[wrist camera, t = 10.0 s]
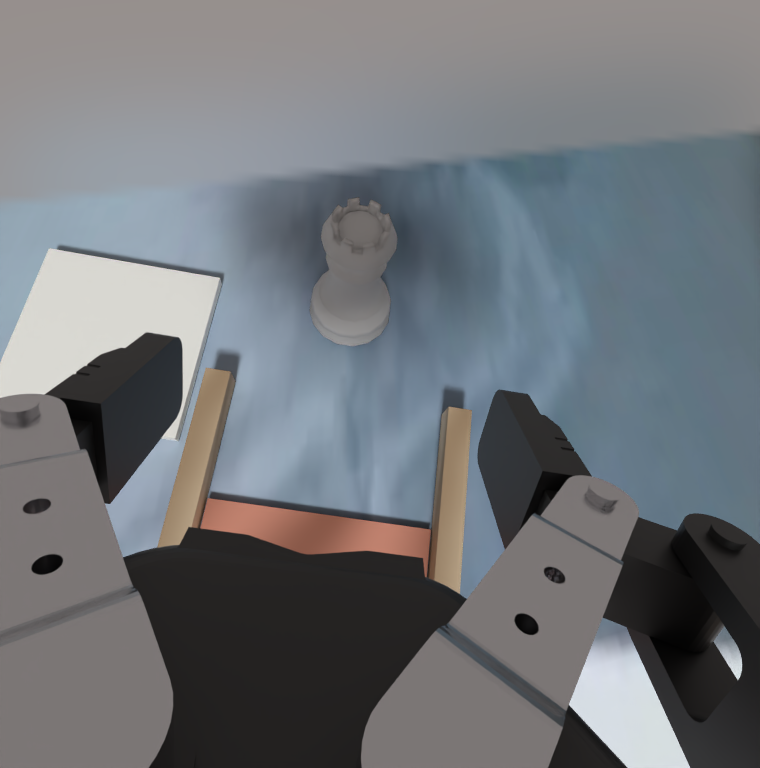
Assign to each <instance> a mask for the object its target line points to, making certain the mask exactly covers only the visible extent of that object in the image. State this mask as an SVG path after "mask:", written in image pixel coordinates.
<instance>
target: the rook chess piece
mask: <svg viewBox="0 0 760 768" xmlns="http://www.w3.org/2000/svg"><path fill="white" fill-rule="evenodd" d="M380 209H381V204H379V203H377V202H375V201H373V200H371V201H370V203H369V206H363V205H360V200H359V197H358V198H352V199H348V202H347V207H343V208H342V207H341V206H339V205H338V206H337V207H336V208H335V210H334V211H333V212H332V214H331V215H330V216H329V218H328V219H327V220H326V222H325V223H324V224H323V228H322V234H321V240H322V243H323V247H324V250H325V251H326V260H327V264H328V267H329V270H328V271H327V272H326V273H324V274H323V275H322V276H321V277H320V279H319V280H318V282H317V283H316V285H315V286H314V288H313V292H312V297H311V305H310V313H311V317H312V321H313V324H314V325H315V327H316V328H317V329H318V330H319V332H320V333H321V334H322V335H323V336H324V337H326V338H327V339H329V340H331V341H333V342H335V343H336V344H341V345H348V346H356V345H361V344H365V343H369V342H370V341H372V340H373V339H375V338H376V337H378V336H379V335H381V333H382V332H383V330H384V328H385V327H386V325H387V324H388V321H389V313H390V304H391V299H390V296H389V293H388V290H387V287H386V284H385V283H384V282H383V281H382V279H381V275H382V274H383V272H384V271H385V269H386V267H387V262H388V261H389V260H390V259H391V257H392V256H393V254H394V252H395V251H396V247H397V238H398V237H397V234H396V231H395V228H394V226H393V224H392V221H391V218H390V215H389V213H388V214H385V215H384V214H382V213H381V212H380Z"/></svg>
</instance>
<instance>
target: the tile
mask: <svg viewBox="0 0 760 768" xmlns="http://www.w3.org/2000/svg"><path fill="white" fill-rule="evenodd" d="M221 286H222V282H221V279H220V278H217V277H211V276H206V275H200V274H194V273H188V272H183V271H177V270H171V269H165V268H160V267H154V266H148V265H142V264H136V263H131V262H125V261H119V260H113V259H108V258H102V257H96V256H90V255H85V254H79V253H73V252H67V251H62V250H56V249H50V248H49V250H48V252H47V255H46V257H45V259H44V262H43V264H42V266H41V269H40V271H39V273H38V276H37V278H36V280H35V283H34V285H33V287H32V290H31V292H30V294H29V297H28V299H27V301H26V304H25V306H24V308H23V311H22V313H21V315H20V318H19V320H18V322H17V325H16V327H15V329H14V332H13V334H12V336H11V339H10V341H9V343H8V346H7V348H6V350H5V353H4V355H3V357H2V360H1V362H0V398H2V397H6V396H11V395H18V394H46V393H47V392H49V391H50V390H51V389H53V388H54V387H56V386H57V385H58V384H60V383H61V382H63V381H64V380H65V379H67V378H68V377H70V376H71V375H72V374H76V372H77V371H78V370H79V369H81V368H82V367H84V366H87V364H88V363H89V362H91V361H92V360H93V359H95V358H96V357H98V356H99V355H100V354H103V353H106V352H109V351H112V350H115V349H118V348H126V347H127V346H128V345H130V344H131V343H132V342H134V341H135V340H136V339H138V338H139V337H140V336H142V335H143V334H144V333H146V332H149V333H155V334H162V335H168V336H174V337H179V338H180V339H181V342H182V349H183V398H182V405H181V408H180V412H179V414H178V416H177V418H176V419H175V421H174V422H173V423H172V425H171V426H170V427H169V429H168V430H167V431H166V432H165V434H164V435H163V436H162V438H161V439H167V440H174V441H179V438H180V435H181V431H182V427H183V424H184V420H185V416H186V413H187V409H188V406H189V402H190V398H191V395H192V391H193V387H194V384H195V380H196V377H197V373H198V369H199V366H200V362H201V358H202V355H203V351H204V348H205V344H206V340H207V337H208V333H209V329H210V326H211V322H212V318H213V315H214V311H215V308H216V304H217V300H218V297H219V293H220V289H221Z"/></svg>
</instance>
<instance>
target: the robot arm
mask: <svg viewBox="0 0 760 768" xmlns="http://www.w3.org/2000/svg"><path fill="white" fill-rule="evenodd" d="M182 398H183V349H182V342H181V339H180V338H179V337H174V336H168V335H162V334H155V333H149V332H146V333H144V334H143V335H142V336H140V337H139V338H138V339H136V340H135V341H134V342H132V343H131V344H130V345H128V346H127V347H126V348H118V349H115V350H112V351H109V352H106V353H103V354H100V355H99V356H98V357H96V358H95V359H93V360H92V361H91V362H89V363H88V364H87V366H84V367H82V368H81V369H79V370H78V371H77V372H76V374H72V375H71V376H70V377H68V378H67V379H65V380H64V381H63V382H61V383H60V384H58V385H57V386H56V387H54V388H53V389H51V390H50V391H49V392H47V393H46V394H18V395H11V396H6V397H2V398H0V768H627V767H626V766H625V765H624V763H623V762H622V761H621V760H620V759H619V758H618V757H617V756H616V755H615V754H614V753H613V752H612V751H611V750H610V749H609V747H608V746H607V745H606V744H605V743H604V742H603V741H602V740H601V739H600V738H599V737H598V736H597V735H596V734H595V732H594V731H593V730H592V729H591V728H590V727H589V726H588V725H587V724H586V723H585V722H584V721H583V720H582V719H581V718H580V716H579V715H578V714H577V713H576V712H575V711H574V710H573V709H572V708H571V707H570V706H569V702H570V700H571V697H572V695H573V692H574V689H575V687H576V684H577V682H578V679H579V677H580V674H581V671H582V669H583V666H584V664H585V661H586V659H587V656H588V653H589V651H590V648H591V646H592V643H593V641H594V638H595V635H596V633H597V630H598V628H599V625H600V623H601V620H602V617H603V618H606V619H608V620H611V621H613V622H616V623H618V624H621V625H623V626H626V627H627V629H628V632H629V634H630V636H631V639H632V641H633V643H634V645H635V647H636V650H637V652H638V654H639V656H640V658H641V661H642V663H643V665H644V667H645V669H646V672H647V674H648V676H649V678H650V680H651V682H652V685H653V687H654V689H655V691H656V693H657V696H658V698H659V700H660V702H661V704H662V707H663V709H664V711H665V713H666V715H667V717H668V720H669V722H670V724H671V726H672V728H673V731H674V733H675V735H676V737H677V739H678V742H679V744H680V746H681V748H682V750H683V753H684V755H685V757H686V759H687V761H688V763H689V766H690V768H760V544H759V543H758V542H757V541H756V540H754V539H753V538H752V537H751V536H749V535H748V534H747V533H745V532H744V531H742V530H741V529H739V528H737V527H736V526H734V525H732V524H730V523H728V522H726V521H724V520H721V519H719V518H716V517H713V516H709V515H705V514H689V515H687V516H686V517H685V518H684V520H683V522H682V523H681V525H680V527H679V528H678V530H674V529H671V528H668V527H665V526H662V525H659V524H656V523H653V522H650V521H648V520H645V519H642V518H640V517H638V516H639V509H638V507H637V505H636V503H635V502H634V501H633V499H632V498H631V497H630V496H629V495H627V494H626V493H625V492H624V491H622V490H621V489H619V488H618V487H616V486H614V485H613V484H611V483H609V482H606V481H604V480H601V479H598V478H595V477H592V476H591V474H590V473H589V471H588V470H587V468H586V467H585V465H584V464H583V462H582V461H581V459H580V457H579V456H578V454H577V453H576V452H574V448H573V447H572V445H571V444H570V442H568V441H567V438H566V436H565V434H564V433H563V431H562V430H561V428H560V427H559V426H558V425H556V424H555V423H554V422H553V421H551V420H550V419H549V418H548V417H546V416H545V415H541V414H540V413H539V411H538V409H537V408H536V406H535V405H534V403H533V401H532V400H531V398H530V396H529V395H528V394H524V393H517V392H511V391H505V390H498V391H497V392H496V393H495V395H494V397H493V400H492V403H491V406H490V410H489V413H488V416H487V419H486V422H485V426H484V429H483V432H482V435H481V438H480V442H479V446H478V465H479V468H480V471H481V474H482V478H483V481H484V484H485V487H486V490H487V494H488V497H489V500H490V503H491V506H492V510H493V513H494V516H495V519H496V522H497V526H498V529H499V532H500V535H501V538H502V542H503V545H504V548H505V551H504V552H503V553H502V555H501V556H500V557H499V558H498V560H497V561H496V562H495V564H494V565H493V566H492V567H491V569H490V570H489V571H488V573H487V574H486V575H485V577H484V578H483V579H482V580H481V582H480V583H479V584H478V586H477V587H476V588H475V590H474V591H473V592H472V593H471V595H470V596H469V597H468V599H466V598H464V597H463V596H462V595H460V594H459V593H457V592H456V591H454V590H452V589H451V588H449V587H447V586H446V585H443V584H441V583H439V582H437V581H435V580H433V579H430V578H427V577H425V572H424V563H423V558H419V557H412V556H404V555H397V554H389V553H382V552H374V551H353V552H339V553H325V554H303V553H299V552H296V551H293V550H290V549H287V548H285V547H282V546H279V545H276V544H273V543H270V542H267V541H265V540H262V539H259V538H256V537H253V536H250V535H246V534H239V533H231V532H224V531H216V530H209V529H201V528H194V527H188V529H187V531H186V533H185V535H184V537H183V539H182V541H181V543H180V545H171V546H164V547H158V548H153V549H149V550H145V551H141V552H138V553H135V554H132V555H129V556H126V557H123V556H122V553H121V551H120V548H119V545H118V542H117V539H116V536H115V533H114V530H113V527H112V524H111V521H110V518H109V515H108V512H107V509H106V506H105V503H107V504H110V503H111V502H112V501H113V499H114V498H115V497H116V496H117V494H118V493H119V492H120V490H121V489H122V488H123V487H124V485H125V484H126V483H127V481H128V480H129V479H130V478H131V476H132V475H133V474H134V472H135V471H136V470H137V468H138V467H139V466H140V465H141V463H142V462H143V461H144V459H145V458H146V457H147V456H148V454H149V453H150V452H151V450H152V449H153V448H154V447H155V445H156V444H157V443H158V441H159V440H160V439H161V438H162V436H163V435H164V434H165V432H166V431H167V430H168V429H169V427H170V426H171V425H172V423H173V422H174V421H175V419H176V418H177V416H178V414H179V412H180V408H181V405H182ZM724 626H725V627H726V629H727V630H728V632H729V633H730V635H731V636H732V638H733V639H734V641H735V642H736V644H737V646H738V648H739V650H740V653H741V657H742V673H741V676H740V678H739V680H737V679H736V677H735V675H734V674H733V672H732V671H731V669H730V667H729V666H728V664H727V663H726V661H725V659H724V658H723V656H722V655H721V653H720V651H719V650H718V648H717V647H716V645H715V643H714V642H713V641H714V640H715V638H716V637H717V636H718V634H719V633H720V631H721V630H722V629H723V627H724Z"/></svg>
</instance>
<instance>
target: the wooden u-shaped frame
mask: <svg viewBox="0 0 760 768" xmlns="http://www.w3.org/2000/svg"><path fill="white" fill-rule="evenodd" d="M235 382H236V381H235V379H234V377H233V375H232V373H231V372H229V371H223V370H217V369H211V368H206V369H205V373H204V377H203V380H202V384H201V388H200V391H199V395H198V399H197V402H196V406H195V410H194V414H193V417H192V421H191V425H190V428H189V432H188V436H187V439H186V443H185V447H184V451H183V454H182V458H181V462H180V465H179V469H178V473H177V476H176V480H175V484H174V488H173V491H172V495H171V499H170V502H169V506H168V510H167V513H166V517H165V521H164V525H163V528H162V532H161V536H160V539H159V543H158V547H164V546H171V545H180V543H181V541H182V539H183V537H184V535H185V533H186V531H187V529H188V527H194V528H200V525H201V529H209V530H216V531H224V532H231V533H239V534H246V535H250V536H253V537H256V538H259V539H262V540H265V541H267V542H270V543H273V544H276V545H279V546H282V547H285V548H287V549H290V550H293V551H296V552H299V553H303V554H325V553H339V552H353V551H374V552H382V553H389V554H397V555H404V556H412V557H419V558H423V563H424V572H425V577H427V578H430V579H433V580H435V581H437V582H439V583H441V584H443V585H446V586H447V587H449V588H451V589H452V590H454V591H456V592H457V593H459V594H460V580H461V565H462V550H463V535H464V520H465V505H466V490H467V475H468V460H469V445H470V430H471V415H472V410H467V409H460V408H454V407H448V408H447V409H446V410H445V411H444V412H443V413H442V417H441V428H440V439H439V451H438V462H437V473H436V485H435V496H434V507H433V519H432V530H430V529H423V528H416V527H409V526H402V525H394V524H387V523H380V522H373V521H366V520H359V519H352V518H345V517H338V516H331V515H324V514H317V513H309V512H302V511H295V510H288V509H281V508H274V507H267V506H260V505H253V504H246V503H239V502H232V501H224V500H217V499H210V498H208V499H207V496H208V492H209V488H210V484H211V480H212V476H213V472H214V468H215V464H216V460H217V456H218V452H219V447H220V443H221V439H222V435H223V431H224V427H225V423H226V419H227V415H228V411H229V407H230V403H231V399H232V394H233V390H234V386H235ZM206 501H207V503H206ZM205 505H206V507H205ZM204 509H205V511H204ZM203 513H204V515H203ZM202 517H203V520H202ZM201 521H202V524H201ZM430 534H431V541H430ZM429 545H430V553H429ZM158 547H157V548H158ZM428 556H429V564H428ZM427 567H428V575H427Z"/></svg>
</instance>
